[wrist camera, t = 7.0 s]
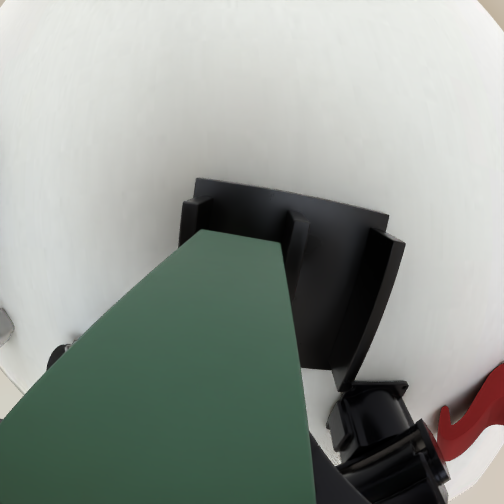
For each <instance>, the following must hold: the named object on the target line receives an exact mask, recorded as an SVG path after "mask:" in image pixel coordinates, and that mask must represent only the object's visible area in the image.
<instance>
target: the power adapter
mask: <svg viewBox="0 0 504 504" xmlns="http://www.w3.org/2000/svg"><path fill="white" fill-rule="evenodd" d="M13 330H14V325H13V323H12V321H11V320H10V318H9V317H8V315H7V314H6V312H5V311H4V309H3V308H0V347H1V346H2V345H4V344H5V343H6V342H7V341H8V340H9V338H10V336H11V334H12V332H13Z"/></svg>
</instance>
